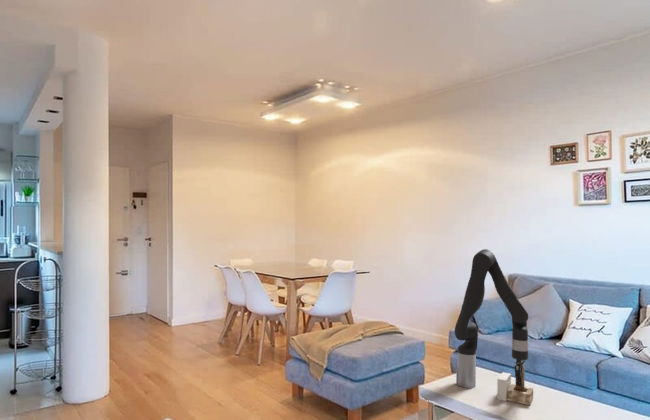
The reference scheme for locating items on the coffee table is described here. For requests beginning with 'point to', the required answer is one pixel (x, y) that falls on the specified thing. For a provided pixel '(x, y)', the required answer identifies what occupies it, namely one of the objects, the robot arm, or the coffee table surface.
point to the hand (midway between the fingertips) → (519, 383)
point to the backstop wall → (503, 386)
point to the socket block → (520, 395)
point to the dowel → (521, 388)
